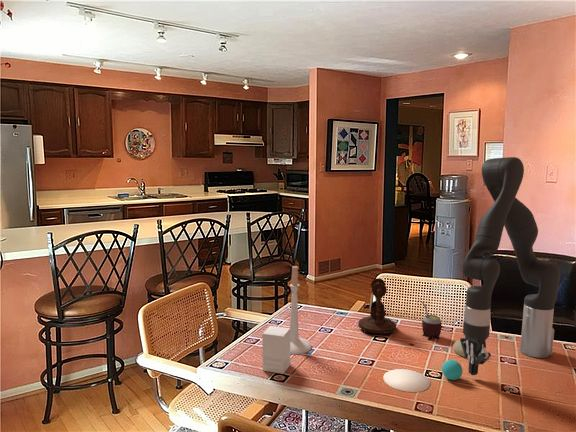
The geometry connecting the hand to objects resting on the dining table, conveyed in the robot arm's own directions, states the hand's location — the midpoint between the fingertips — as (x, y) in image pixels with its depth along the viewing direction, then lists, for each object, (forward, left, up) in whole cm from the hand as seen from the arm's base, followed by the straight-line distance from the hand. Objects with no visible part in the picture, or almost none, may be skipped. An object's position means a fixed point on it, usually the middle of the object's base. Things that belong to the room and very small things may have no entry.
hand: (472, 373), depth 145 cm
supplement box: (+59, -18, -2) cm, 62 cm away
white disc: (+21, -3, -2) cm, 21 cm away
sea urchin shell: (-9, -17, -2) cm, 19 cm away
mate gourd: (-3, -32, -2) cm, 32 cm away
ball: (+7, -1, +1) cm, 7 cm away
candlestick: (+50, -33, -2) cm, 60 cm away
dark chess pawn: (+14, -43, -2) cm, 45 cm away
